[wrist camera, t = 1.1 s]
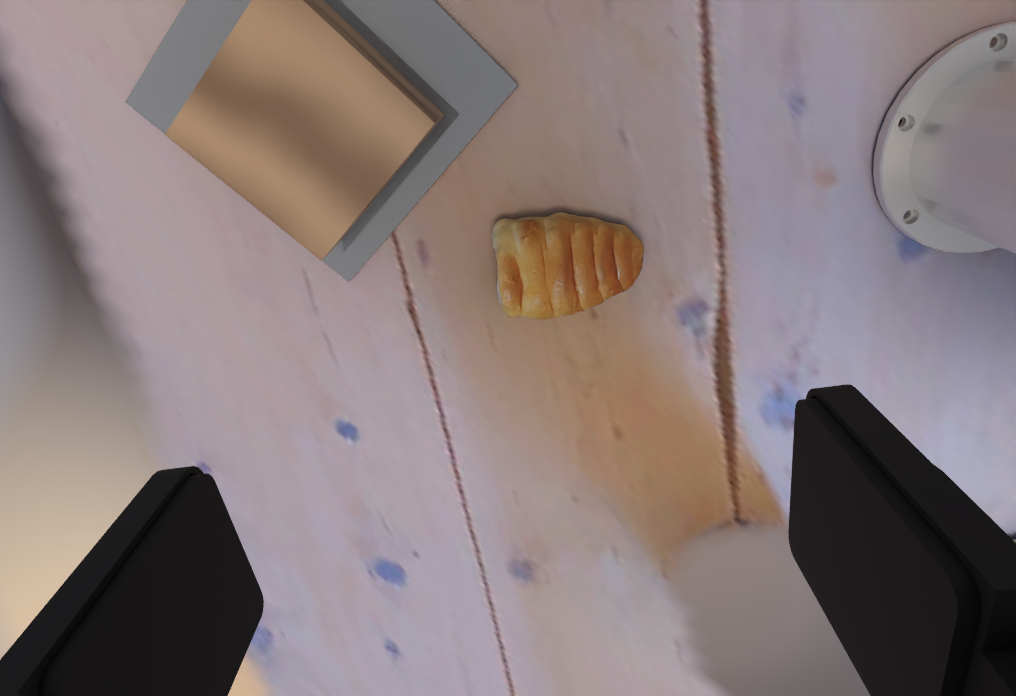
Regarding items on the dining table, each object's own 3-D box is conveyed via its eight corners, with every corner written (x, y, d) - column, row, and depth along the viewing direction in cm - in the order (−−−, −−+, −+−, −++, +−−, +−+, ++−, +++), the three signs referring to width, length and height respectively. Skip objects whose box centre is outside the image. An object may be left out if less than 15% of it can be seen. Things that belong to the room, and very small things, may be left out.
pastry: (637, 196, 39) (648, 211, 36) (642, 298, 42) (653, 321, 39) (486, 216, 40) (482, 233, 36) (501, 315, 43) (499, 339, 39)
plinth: (301, -39, 34) (267, -51, 29) (460, 113, 37) (451, 122, 33) (194, 124, 38) (148, 135, 33) (346, 249, 41) (324, 275, 36)
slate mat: (284, -150, 32) (280, -154, 31) (518, 84, 36) (517, 84, 36) (131, 101, 37) (125, 102, 37) (351, 279, 42) (348, 282, 41)
